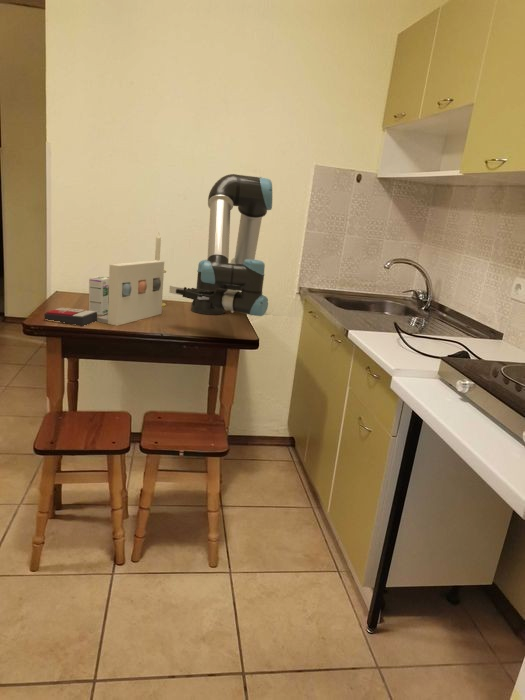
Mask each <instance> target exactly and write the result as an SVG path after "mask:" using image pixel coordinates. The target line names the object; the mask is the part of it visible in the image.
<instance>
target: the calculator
mask: <svg viewBox="0 0 525 700" xmlns="http://www.w3.org/2000/svg"><path fill="white" fill-rule="evenodd" d="M97 317H98V315H97V312H95V311H89V310H86V309H81V308H80V309H79V308H70V307H59V308H58V307H57V308H56V309H52V310H49V311H46V312H45V313H44V320H45V319H48V320H54V321H60V322H65V323H70V324H69V325H71V324H76V325H81V326H80V327H85V326H84V325H86V326H88V325H91V324H92V322H93V323H95V321H96V322H97ZM90 323H91V324H90ZM87 324H88V325H87ZM76 325H75V326H76Z"/></svg>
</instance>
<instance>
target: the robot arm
mask: <svg viewBox="0 0 525 700" xmlns="http://www.w3.org/2000/svg"><path fill="white" fill-rule="evenodd" d="M207 206H208V208H209V224H208V226H209V227H208V243H207V257H206V258H207V259H202V260H200V261H199V262H198V264H197V265H198V267H197V269H196V270H197V278H196V279H197V280H196V288H195V287H192V288H190V287H188V288H187V287H186V286H184V287H182V286H179V285H172V284H171V285H169V291H168V292H169V294H172V295H173V294H174V295H179V296H182V297H183V298H186V299H189V300H192V302H191V305H190V310H191V311H192V312H193V313H197V314H203V315H210V314H211V315H215V316H216V315H217V314H218V315H223V314H225V310H226V311H230V313H232V314H233V313H234V312H236V313H240V314H244V315H249V316H256V317H262V316H263V317H264V315H265V314H266V313H267V310H268V307H269V299H268V297H267V296H265V295H263V288H264V279H265V267H266V266H265V265H266V264H265V263H264V261H262V260H259V259H255V258H256V254H257V253H256V252H257V249H258V241H259V238H260V237H259V236H260V230H261V226H262V219H263V217H265V216H266V215H267V213H268V211H272V209H273V181H272V180H271V178H270V179H269V178H266V177H262V176H251V175H243V174H235V173H232V174H231V173H230V174H227V175H224V176H222V177H220V178H219V179H218V180H217V181H216V182H214V184H213V186H212V188H211V189H210V191H209V193H208V198H207ZM234 207H237V209H238V212H239V213H240V219H239V224H238V225H239V226H238V233H237V238H236V239H237V241H236V247H235V253H234V254H235V255H234V257H233V258H232V259H231V260H230V263H229V257H230V229H231V210H233V208H234ZM211 315H210V316H211Z"/></svg>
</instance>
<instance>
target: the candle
mask: <svg viewBox="0 0 525 700" xmlns="http://www.w3.org/2000/svg"><path fill="white" fill-rule="evenodd" d="M161 239H162V237H161V235H160V232H158V233H157V235H156V237H155V251H154V260H158V261H161V244H162V243H161V242H162V240H161ZM165 273H167V271H166V270H165V269H164V274H165ZM165 305H166V306H167V303H165V302H163V301H162V307H165Z"/></svg>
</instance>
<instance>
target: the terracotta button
mask: <svg viewBox="0 0 525 700" xmlns="http://www.w3.org/2000/svg"><path fill="white" fill-rule="evenodd" d="M146 289H147V284H146V282H144V281H139V283H138V292H141V293H144V292H145V291H146Z"/></svg>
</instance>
